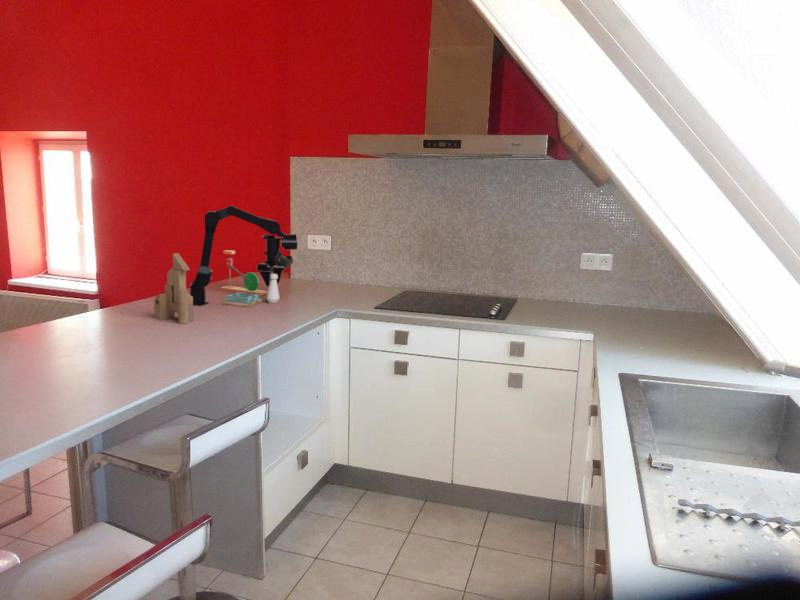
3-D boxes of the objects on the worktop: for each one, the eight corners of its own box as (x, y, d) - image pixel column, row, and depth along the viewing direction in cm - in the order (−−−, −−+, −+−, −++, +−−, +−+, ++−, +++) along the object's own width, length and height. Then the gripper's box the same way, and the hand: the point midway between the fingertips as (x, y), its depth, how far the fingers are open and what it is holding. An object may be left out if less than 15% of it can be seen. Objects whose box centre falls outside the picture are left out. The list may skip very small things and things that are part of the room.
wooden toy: (153, 318, 218) (150, 252, 213) (167, 315, 223) (165, 251, 219) (183, 324, 211) (181, 256, 206) (197, 321, 217) (195, 254, 212)
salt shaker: (274, 301, 261) (274, 272, 259) (282, 303, 257) (282, 274, 255) (263, 302, 256) (263, 273, 254) (271, 304, 253) (271, 275, 251)
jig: (248, 307, 246) (248, 298, 245) (222, 304, 249) (222, 296, 248) (268, 300, 263) (268, 291, 262) (244, 297, 266) (244, 289, 265)
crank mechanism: (219, 290, 284) (218, 250, 280) (229, 288, 290) (228, 249, 286) (259, 295, 273) (259, 255, 269) (268, 294, 278) (268, 254, 275)
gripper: (280, 252, 242) (280, 289, 245) (298, 248, 260) (298, 283, 262) (256, 250, 244) (256, 287, 247) (276, 247, 262) (276, 281, 265)
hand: (272, 284), depth 255 cm, fingers open, 9 cm apart
